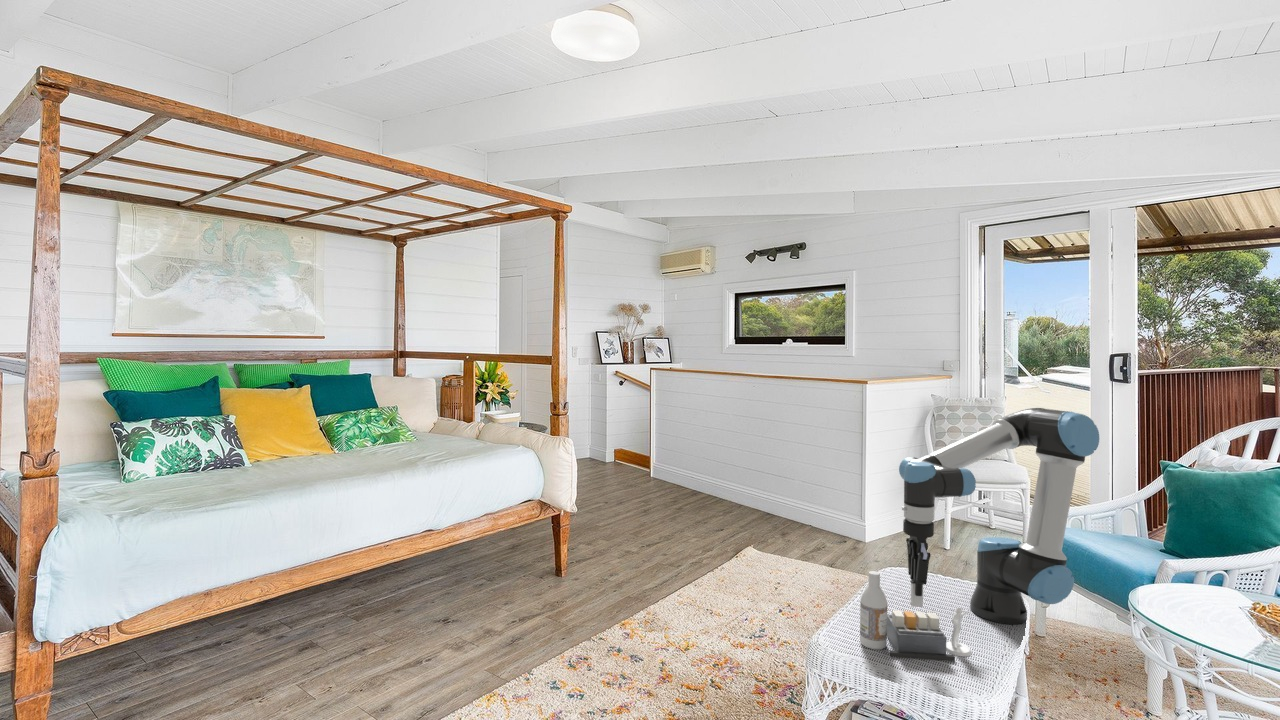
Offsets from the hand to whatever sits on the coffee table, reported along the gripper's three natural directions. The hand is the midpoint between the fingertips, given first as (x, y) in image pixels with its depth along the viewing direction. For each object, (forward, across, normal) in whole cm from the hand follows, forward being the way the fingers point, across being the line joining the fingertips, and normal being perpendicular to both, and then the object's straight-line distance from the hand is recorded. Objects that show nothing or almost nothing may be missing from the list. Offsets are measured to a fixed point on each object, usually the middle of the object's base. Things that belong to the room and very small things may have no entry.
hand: (916, 605), depth 165 cm
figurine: (+12, -1, +11) cm, 17 cm away
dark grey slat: (+12, +5, 0) cm, 13 cm away
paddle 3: (+6, -1, +2) cm, 6 cm away
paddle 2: (+6, -1, -1) cm, 6 cm away
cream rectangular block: (+6, -1, +5) cm, 8 cm away
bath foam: (+12, -1, -11) cm, 16 cm away
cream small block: (+6, -1, -4) cm, 8 cm away
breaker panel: (+12, -1, 0) cm, 12 cm away
